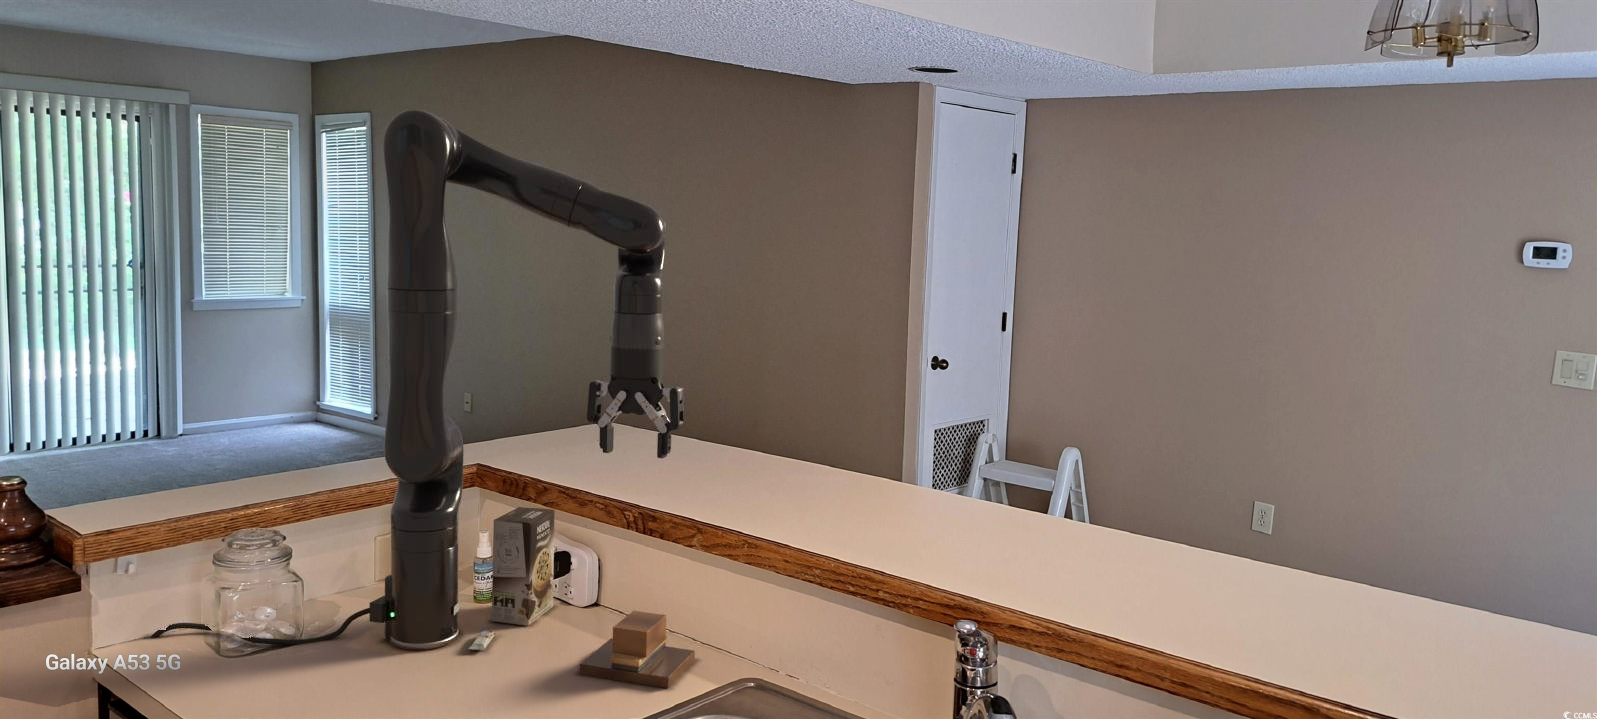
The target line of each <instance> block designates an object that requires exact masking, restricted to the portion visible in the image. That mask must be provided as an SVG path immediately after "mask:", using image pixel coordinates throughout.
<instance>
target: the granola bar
mask: <svg viewBox="0 0 1597 719" xmlns="http://www.w3.org/2000/svg"><path fill="white" fill-rule="evenodd" d="M497 634H498V632H496V631H495V632H494V631H493V630H482V631H481V632H480V633H479V635H478V636H477V637H476V638H475V640H474V641H473V642H472V644H471V645H470V646H469V647H468V650H472V651H485V650H486V648H487V646H488V645H489V643H490V642H491V641H492V639H493V638H494V636H495V635H497Z"/></svg>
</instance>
